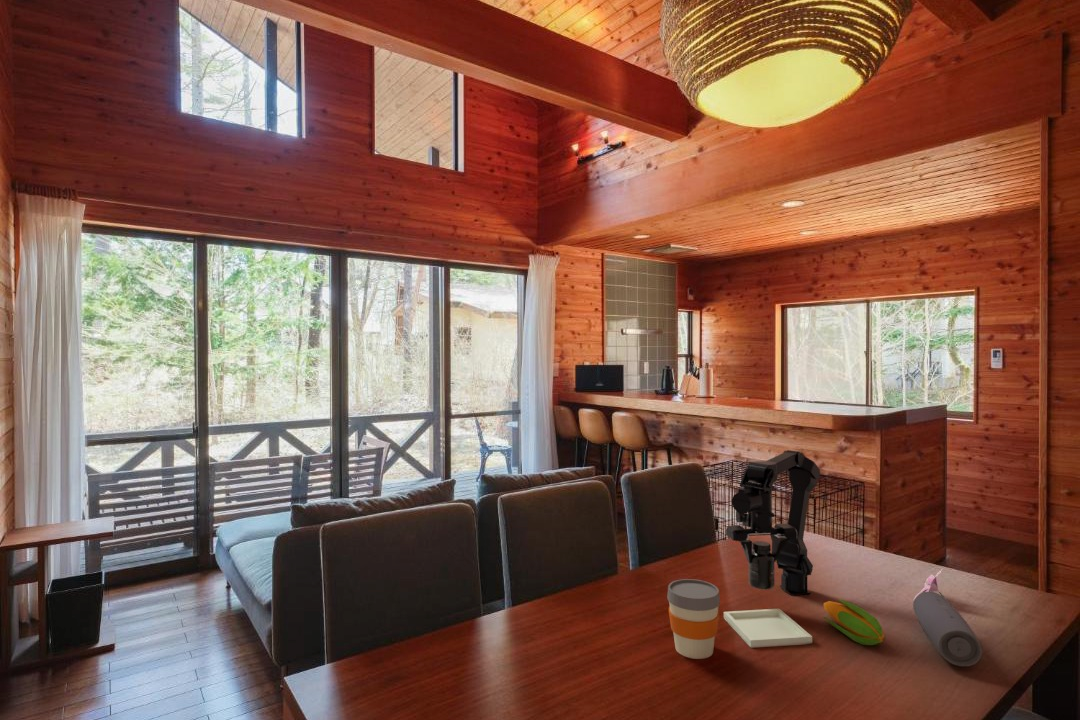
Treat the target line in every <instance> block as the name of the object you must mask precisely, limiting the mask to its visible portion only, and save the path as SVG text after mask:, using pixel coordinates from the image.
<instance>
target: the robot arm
mask: <svg viewBox="0 0 1080 720" xmlns="http://www.w3.org/2000/svg"><path fill="white" fill-rule="evenodd" d="M783 472H787V474H788V481H789V483H790V485H791V486H790V487H791V488H792V492H791V499H790V507H789V511H788V512H789V513H788V518H787V519H788V520H787V523H775V525H774V527H773V518H774V517H775V512H773V507H772V505H773V499H772V498H773V496H772V495H773V493H772V491H775V490H776V487H775V486H774V485H773V484H774V483H775V482H776V481H777V480H778V476H779V475H780V474H782V473H783ZM820 476H821V470H820V467H818V465H817V464H816V463H815V461H813V460H811V459H810V458H808V457H807V456H805V454H804V453H803V452H801V451H800V450H799V451H798V450H789V449H788V450H784V451H783V453H780V454H778V455H776V456H774V457H771V458H770V459H767V460H764V461H760V460H755V461H751V462H749V463H748V464H747V466H746V467H745V470H744V472H743V475H742V478H741V480H740V481H741V482H740V484H739V488H737V489H738V490H737V491H738V492H736V493H734V495H733V496H732V499H731V505H732V507H733V510H734V511H735V520H736V523H742V526H741V525H740V524H739V525H737V524H735V525H727V527H726V529H725V536H727V537H728V538H730V539H731V540H732V541H734V542H739V543H740V545H741V547H742V548H743V549H742V550H743V552H744V555H745V558H746V560H747V563H748V564H749V563H751V560H752V551H753V549H752V543H753V541H752V540H751V539H750V537H751V536H752V537H753V536H754V537H755V536H758V537H759V536H770V539H771V553H772V554H773V556H774V563H776V565H777V568H778V569H780V570H782V574H781V576H780V578H781V580H780V585H779V587H780V588H781V589H782V590H783V591H785V592H786V594H789V595H791V596H795V595H796V596H797V595H798V596H799V595H811V591H810V590H809V589H808V576H811V575H812V573H813V569H814V567H813V566H814V565H813V563H812V562H811V560H810V559H809V557H808V549H807V548H808V547H807V546H806V543H805V542H804V536H805V535H804V534H805V530H806V528H805V527H806V522H807V514H808V508H809V502H810V501H809V500H810V494H811V492H812V491H813V490H814V489H815V488H816V487H817V484H818V483H819V482H818V480H819V479H820ZM743 526H744V527H747V528H744V527H743Z"/></svg>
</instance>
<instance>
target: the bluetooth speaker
mask: <svg viewBox="0 0 1080 720" xmlns="http://www.w3.org/2000/svg"><path fill="white" fill-rule="evenodd" d="M943 596H944V595H943ZM943 596H942V595H941V594H940V593H939V592H936V591H934V592H922V593H920V594H919V595H918V596H917V597H916V598H915V597H914V598H915V600H914V599H913V600H914V601H913V603H912V606H913V611H914V614H915V616H916V618H917V620H918V623H919V624H920V627H921V628H922V630H923V632H924V634H925V635H926V637H927V638H928V639H929V641H930V642H931V644H932V645H933V647H935V649H936V651H938V653H939V654H940V655H941V656H942V657H943V658H944V659H945V661H947V662H949V663H950V664H952V665H954V666H958V667H971V666H973V665H975V664H977V663H978V662H979V661H980V659H981V658H982V655H983V650H982V646H981V643H980V641H979V638H978V637H977V636H976V634H975V633H974V631H973V629H972V628H971V627H970V625H969V624H968V623H967V621H966V620H965V619H964V617H963V616H962V615H961V614H960V612H959V611H958V610H957V609H956V608H955V607H954V606H953V605H952V603H951V602H950V601H949V600H947V599H946V597H943Z"/></svg>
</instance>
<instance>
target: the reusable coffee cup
mask: <svg viewBox="0 0 1080 720" xmlns="http://www.w3.org/2000/svg"><path fill="white" fill-rule="evenodd" d="M666 599H667V600H668V603H669V606H668V615H669V622H670V629H671V631H672V633H673V638H674V639H673V640H674V646H675V647H674V648H675V650H676V652H677V653H678V654H680V656H681V655H682V656H683V657H686V658H687V659H696V660H702V659H707V658H709V657H711V656H712V655H713V653H714V647H715V638H716V637H715V636H717V634H718V627H719V620H720V619H719V618H720V612H719V606H720V604H721V598H720V590H719V588H718V587H717V586H716V585H715V584H713V583H711V582H708V581H704V580H701V579H695V578H694V579H693V578H692V579H691V578H684V579H678V580H673V581H671V582H670V583H668V586H667V597H666Z"/></svg>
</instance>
